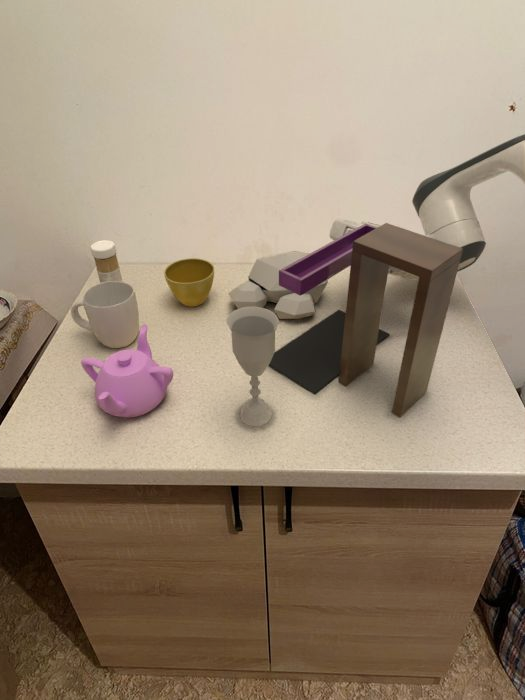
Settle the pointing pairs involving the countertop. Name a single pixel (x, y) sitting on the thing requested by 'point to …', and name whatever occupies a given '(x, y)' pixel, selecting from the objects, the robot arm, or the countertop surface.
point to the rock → (276, 288)
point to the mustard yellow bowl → (190, 280)
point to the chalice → (253, 355)
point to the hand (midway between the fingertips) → (362, 238)
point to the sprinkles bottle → (106, 261)
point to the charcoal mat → (315, 354)
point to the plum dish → (321, 263)
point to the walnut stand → (427, 314)
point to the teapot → (129, 380)
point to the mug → (110, 313)
